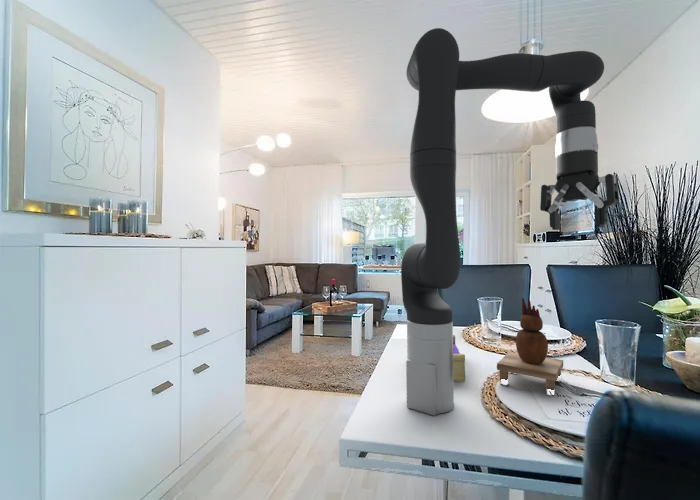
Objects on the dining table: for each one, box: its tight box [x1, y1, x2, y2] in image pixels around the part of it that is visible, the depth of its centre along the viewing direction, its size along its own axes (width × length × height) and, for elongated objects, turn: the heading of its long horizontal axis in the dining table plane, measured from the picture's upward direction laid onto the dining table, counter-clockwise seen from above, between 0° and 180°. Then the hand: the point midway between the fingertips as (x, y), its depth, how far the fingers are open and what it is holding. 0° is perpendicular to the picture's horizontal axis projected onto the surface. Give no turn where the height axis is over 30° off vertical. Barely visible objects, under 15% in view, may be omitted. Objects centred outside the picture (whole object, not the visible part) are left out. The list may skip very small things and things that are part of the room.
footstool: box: [496, 351, 564, 390], centre depth 82 cm, size 12×12×5 cm
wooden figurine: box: [515, 297, 549, 364], centre depth 82 cm, size 7×6×15 cm
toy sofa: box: [453, 334, 466, 382], centre depth 93 cm, size 21×9×10 cm, turn 169°
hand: (577, 228), depth 73 cm, fingers open, 8 cm apart
